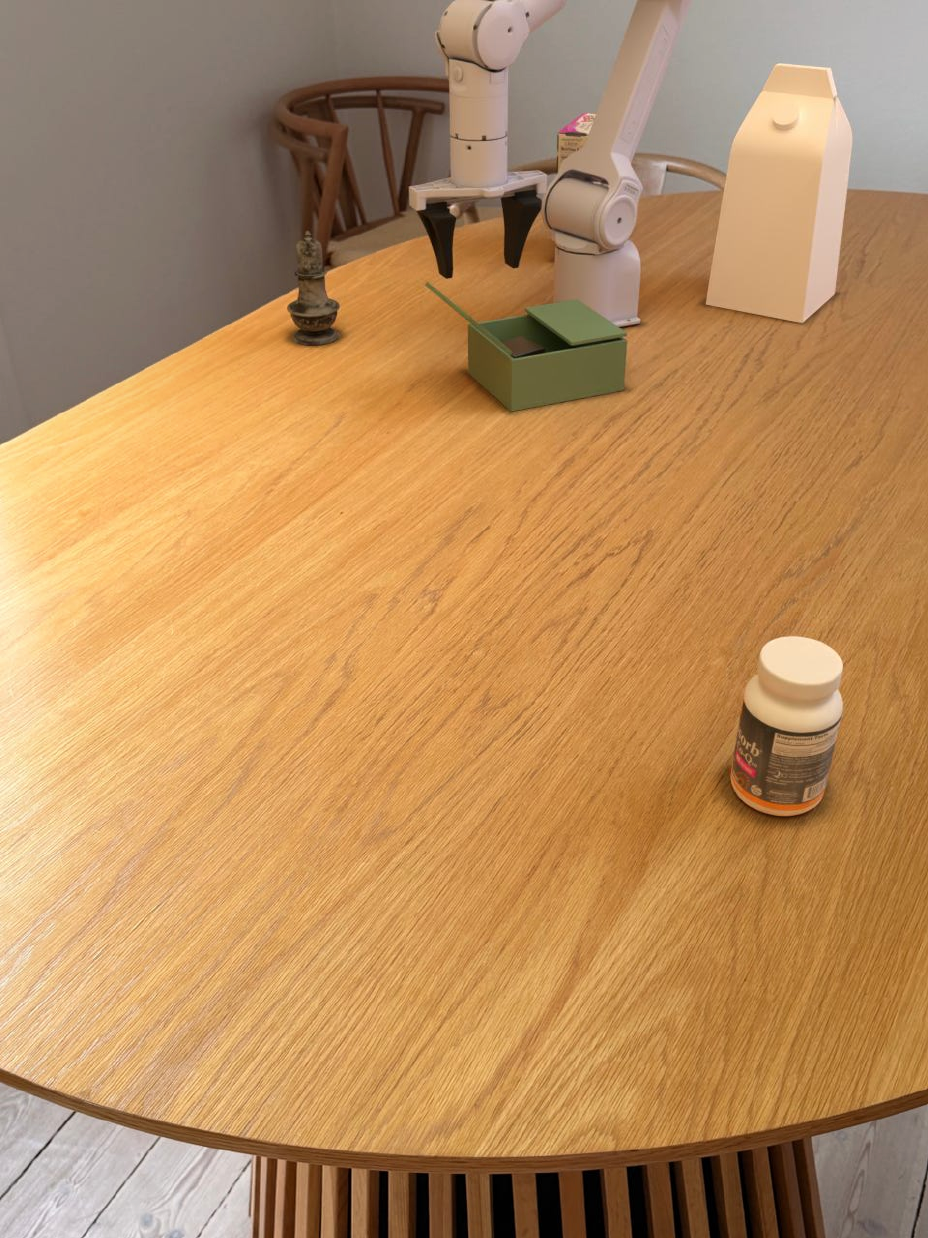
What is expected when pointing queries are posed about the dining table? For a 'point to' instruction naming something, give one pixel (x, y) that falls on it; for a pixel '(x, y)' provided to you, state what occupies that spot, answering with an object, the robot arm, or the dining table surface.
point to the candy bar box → (574, 138)
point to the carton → (550, 356)
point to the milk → (784, 199)
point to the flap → (468, 318)
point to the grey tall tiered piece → (312, 297)
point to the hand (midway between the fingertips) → (478, 270)
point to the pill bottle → (788, 727)
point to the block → (523, 347)
